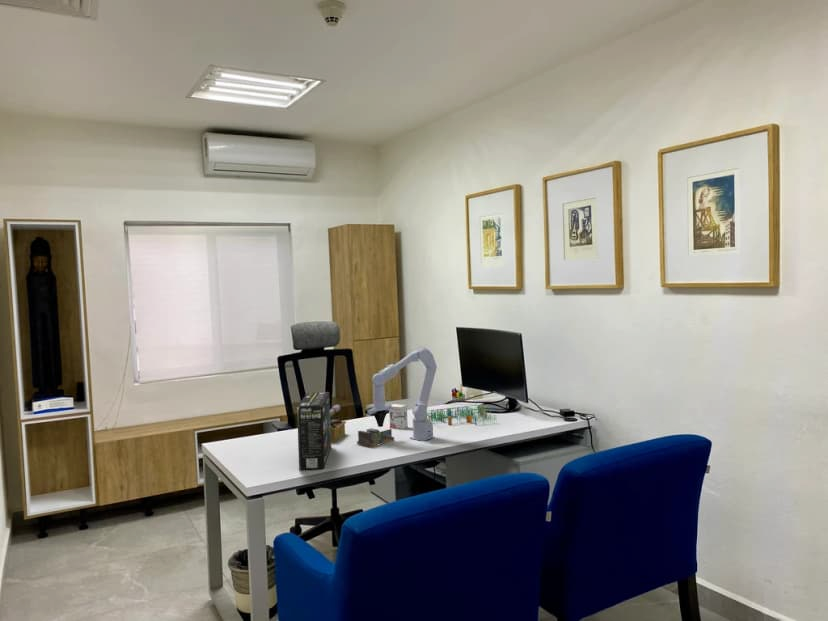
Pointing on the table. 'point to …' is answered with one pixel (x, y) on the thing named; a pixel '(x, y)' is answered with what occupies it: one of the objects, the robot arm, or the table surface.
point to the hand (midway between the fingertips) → (380, 426)
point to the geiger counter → (336, 425)
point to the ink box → (398, 416)
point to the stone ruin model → (374, 438)
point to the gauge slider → (373, 431)
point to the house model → (469, 417)
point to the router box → (314, 430)
